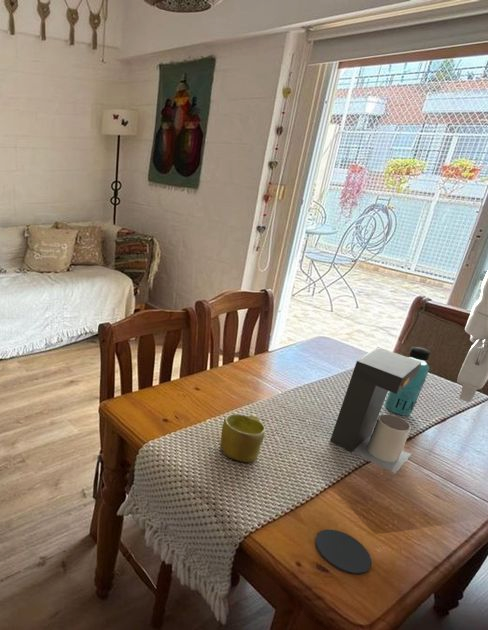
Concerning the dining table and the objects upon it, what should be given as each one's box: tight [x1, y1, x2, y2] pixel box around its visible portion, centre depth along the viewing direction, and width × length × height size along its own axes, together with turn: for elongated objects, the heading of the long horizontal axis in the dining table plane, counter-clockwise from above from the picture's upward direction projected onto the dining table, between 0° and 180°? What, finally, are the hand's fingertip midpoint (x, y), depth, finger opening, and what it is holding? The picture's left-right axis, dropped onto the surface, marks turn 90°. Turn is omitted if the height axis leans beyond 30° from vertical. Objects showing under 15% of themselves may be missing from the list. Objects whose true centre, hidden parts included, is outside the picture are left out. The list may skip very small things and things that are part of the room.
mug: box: [220, 413, 266, 463], centre depth 105 cm, size 12×10×10 cm
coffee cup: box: [367, 413, 412, 462], centre depth 103 cm, size 6×6×9 cm
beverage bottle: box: [384, 346, 431, 416], centre depth 118 cm, size 6×7×20 cm
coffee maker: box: [329, 346, 422, 475], centre depth 102 cm, size 14×12×24 cm
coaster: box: [314, 528, 372, 575], centre depth 81 cm, size 9×9×1 cm
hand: (471, 391), depth 87 cm, fingers open, 8 cm apart
